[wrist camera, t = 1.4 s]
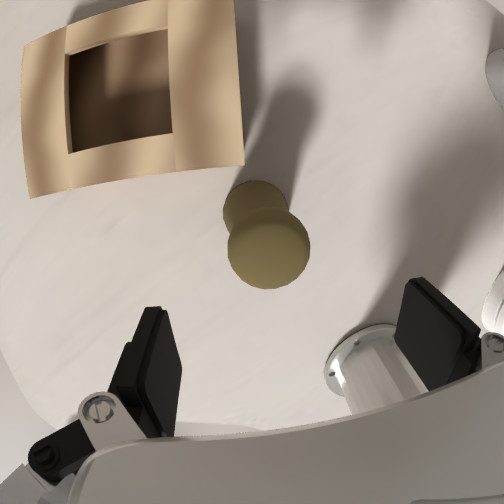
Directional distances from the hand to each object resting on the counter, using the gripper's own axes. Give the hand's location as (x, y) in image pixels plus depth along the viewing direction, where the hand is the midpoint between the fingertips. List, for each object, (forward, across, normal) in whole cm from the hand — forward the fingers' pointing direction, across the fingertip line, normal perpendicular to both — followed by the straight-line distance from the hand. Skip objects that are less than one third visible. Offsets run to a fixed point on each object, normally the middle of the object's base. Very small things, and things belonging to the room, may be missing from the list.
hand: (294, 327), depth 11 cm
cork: (+18, 0, 0) cm, 18 cm away
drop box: (+18, +10, -12) cm, 24 cm away
